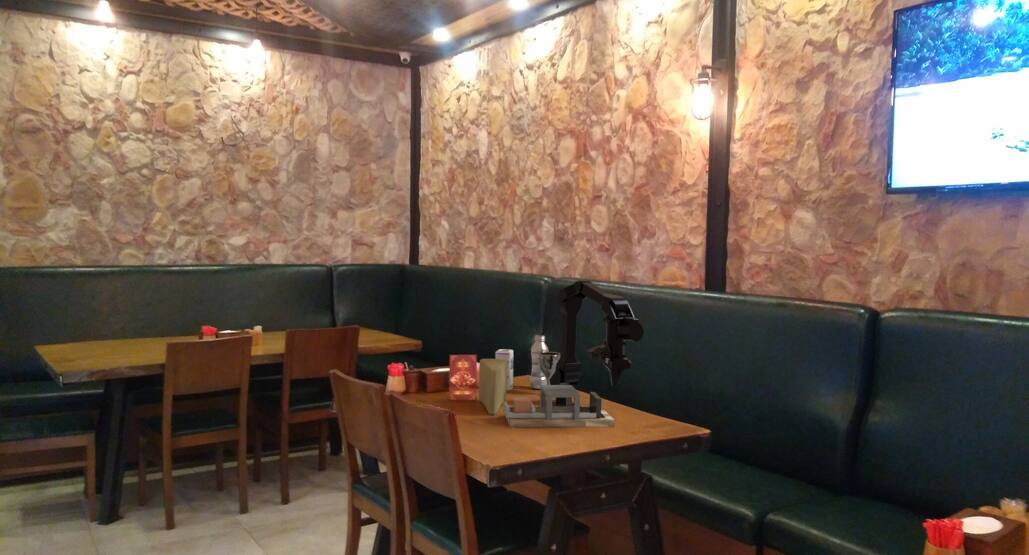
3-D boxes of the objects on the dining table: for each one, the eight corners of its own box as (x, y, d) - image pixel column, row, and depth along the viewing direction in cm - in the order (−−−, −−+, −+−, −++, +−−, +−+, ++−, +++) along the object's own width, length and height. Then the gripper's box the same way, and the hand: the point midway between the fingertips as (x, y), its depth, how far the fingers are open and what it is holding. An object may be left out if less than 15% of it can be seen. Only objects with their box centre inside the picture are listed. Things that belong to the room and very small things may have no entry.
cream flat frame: (505, 416, 252) (505, 409, 252) (604, 415, 256) (604, 409, 256) (510, 427, 238) (510, 420, 238) (614, 426, 242) (614, 420, 242)
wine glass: (559, 397, 283) (560, 355, 282) (537, 396, 283) (538, 354, 282) (558, 392, 291) (559, 351, 290) (536, 391, 291) (537, 351, 290)
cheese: (507, 415, 253) (508, 369, 252) (477, 415, 253) (478, 368, 252) (506, 400, 275) (507, 358, 274) (478, 400, 275) (479, 357, 274)
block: (513, 413, 248) (513, 397, 248) (529, 413, 248) (529, 397, 248) (515, 416, 243) (515, 400, 243) (531, 416, 244) (531, 400, 243)
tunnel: (539, 409, 253) (540, 384, 253) (570, 409, 255) (571, 385, 254) (546, 420, 240) (547, 394, 239) (579, 420, 241) (580, 394, 240)
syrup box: (510, 390, 292) (511, 351, 291) (494, 389, 293) (495, 350, 292) (513, 387, 298) (514, 349, 297) (497, 386, 299) (498, 348, 298)
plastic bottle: (537, 386, 302) (539, 334, 300) (550, 389, 297) (552, 336, 296) (525, 388, 297) (527, 335, 296) (539, 391, 292) (540, 337, 291)
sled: (502, 410, 250) (503, 391, 250) (593, 410, 253) (594, 391, 253) (506, 418, 240) (506, 398, 240) (600, 418, 244) (601, 398, 243)
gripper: (583, 333, 256) (582, 381, 257) (596, 341, 237) (595, 393, 238) (617, 333, 257) (616, 381, 258) (632, 341, 239) (631, 392, 239)
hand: (613, 386), depth 248 cm, fingers closed
